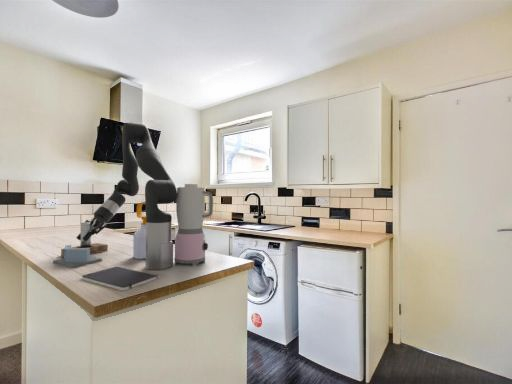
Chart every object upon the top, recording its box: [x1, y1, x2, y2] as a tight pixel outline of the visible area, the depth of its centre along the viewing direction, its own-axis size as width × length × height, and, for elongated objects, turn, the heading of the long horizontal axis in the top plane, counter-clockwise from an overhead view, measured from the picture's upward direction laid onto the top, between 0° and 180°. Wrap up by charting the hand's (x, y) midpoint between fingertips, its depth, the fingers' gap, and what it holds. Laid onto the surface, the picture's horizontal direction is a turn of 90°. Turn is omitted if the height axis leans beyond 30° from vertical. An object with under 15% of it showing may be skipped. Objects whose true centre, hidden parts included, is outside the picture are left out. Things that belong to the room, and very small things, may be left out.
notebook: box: [81, 266, 159, 291], centre depth 88 cm, size 13×2×21 cm
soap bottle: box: [132, 201, 146, 260], centre depth 117 cm, size 9×9×25 cm
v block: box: [52, 244, 103, 268], centre depth 108 cm, size 15×11×6 cm
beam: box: [60, 242, 109, 257], centre depth 122 cm, size 16×8×3 cm, turn 153°
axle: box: [79, 221, 92, 248], centre depth 122 cm, size 4×4×14 cm
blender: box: [173, 183, 214, 267], centre depth 109 cm, size 16×12×32 cm
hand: (81, 239), depth 120 cm, fingers closed on axle, 4 cm apart
